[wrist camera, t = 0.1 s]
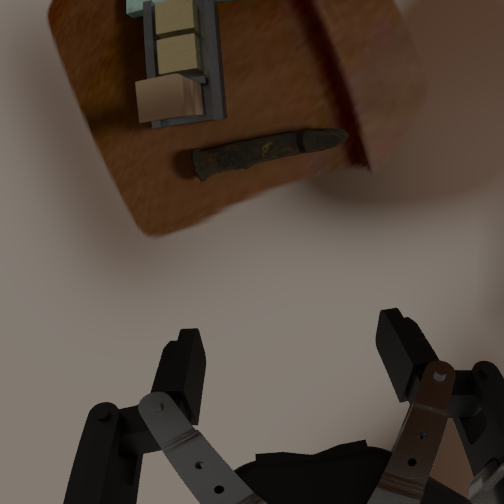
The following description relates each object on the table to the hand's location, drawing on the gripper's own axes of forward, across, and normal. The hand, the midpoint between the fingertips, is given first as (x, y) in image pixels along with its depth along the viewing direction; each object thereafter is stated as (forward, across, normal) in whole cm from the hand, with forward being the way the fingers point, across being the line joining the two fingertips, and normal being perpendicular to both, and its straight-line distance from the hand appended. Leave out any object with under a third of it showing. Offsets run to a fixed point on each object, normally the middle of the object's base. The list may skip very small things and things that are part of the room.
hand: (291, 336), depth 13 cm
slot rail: (+29, +8, -16) cm, 34 cm away
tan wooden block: (+26, +8, -11) cm, 29 cm away
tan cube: (+26, +7, -21) cm, 35 cm away
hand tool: (+30, -1, -5) cm, 30 cm away
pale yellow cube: (+26, +8, -16) cm, 32 cm away
